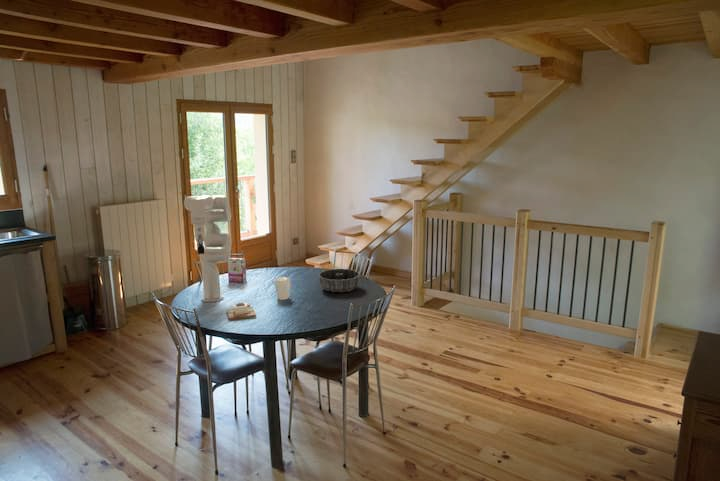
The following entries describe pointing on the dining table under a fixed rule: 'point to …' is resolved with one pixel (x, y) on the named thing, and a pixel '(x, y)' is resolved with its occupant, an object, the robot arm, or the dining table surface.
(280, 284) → the cup
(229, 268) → the candy bar box
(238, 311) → the knob
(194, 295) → the dining table surface
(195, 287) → the dining table surface
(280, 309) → the dining table surface
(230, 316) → the shaft block
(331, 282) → the bundt pan
